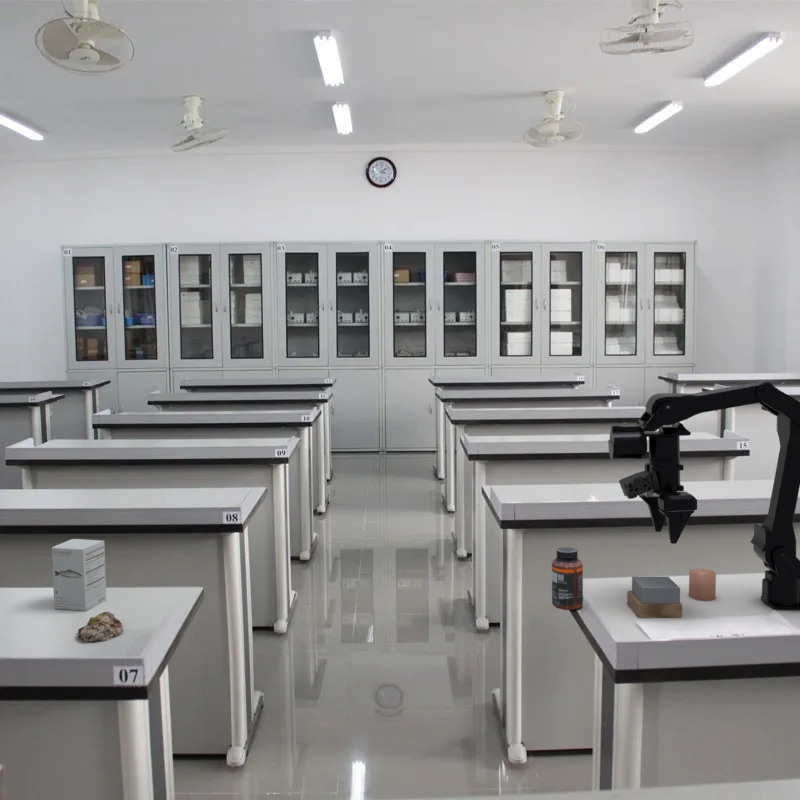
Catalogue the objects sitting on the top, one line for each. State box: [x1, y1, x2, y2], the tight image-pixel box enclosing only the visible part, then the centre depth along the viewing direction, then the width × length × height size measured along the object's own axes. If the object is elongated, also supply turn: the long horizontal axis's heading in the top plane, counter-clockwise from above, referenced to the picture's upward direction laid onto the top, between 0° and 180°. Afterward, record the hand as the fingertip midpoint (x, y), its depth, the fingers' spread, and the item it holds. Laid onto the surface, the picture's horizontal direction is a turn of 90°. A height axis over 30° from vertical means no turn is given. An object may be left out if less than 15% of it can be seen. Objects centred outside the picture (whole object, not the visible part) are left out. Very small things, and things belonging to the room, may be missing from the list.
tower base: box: [626, 590, 683, 619], centre depth 153 cm, size 8×8×3 cm
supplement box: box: [51, 538, 107, 612], centre depth 161 cm, size 7×7×13 cm
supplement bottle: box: [551, 546, 584, 611], centre depth 156 cm, size 6×6×11 cm
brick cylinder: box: [688, 568, 717, 602], centre depth 161 cm, size 5×5×5 cm
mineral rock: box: [77, 611, 124, 642], centre depth 146 cm, size 11×4×8 cm
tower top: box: [631, 576, 681, 604], centre depth 153 cm, size 7×7×3 cm
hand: (665, 537), depth 157 cm, fingers open, 9 cm apart
